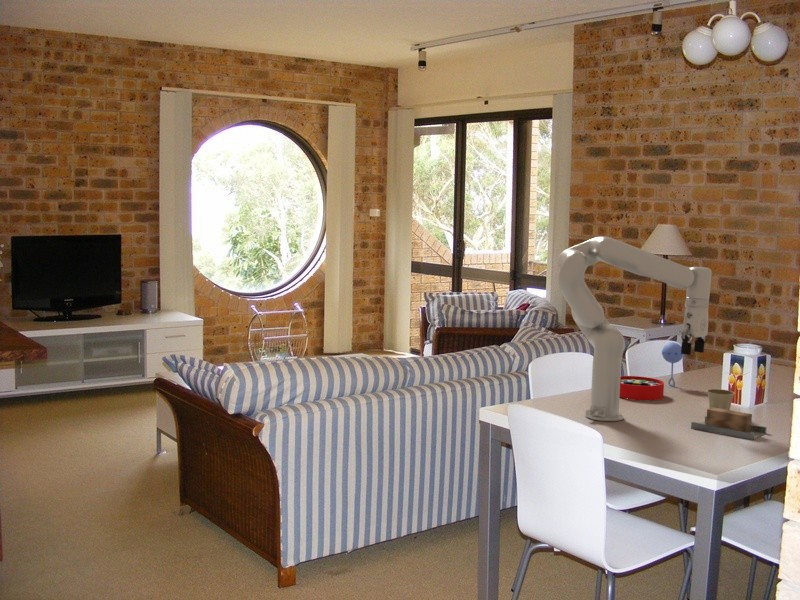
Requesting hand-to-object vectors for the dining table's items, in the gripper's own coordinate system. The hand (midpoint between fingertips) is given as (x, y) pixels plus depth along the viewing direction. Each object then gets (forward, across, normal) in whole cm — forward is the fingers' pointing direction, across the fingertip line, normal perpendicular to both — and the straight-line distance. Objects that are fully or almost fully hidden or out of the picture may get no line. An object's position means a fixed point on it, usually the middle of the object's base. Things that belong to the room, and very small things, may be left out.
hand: (692, 353), depth 299 cm
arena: (+23, -4, -17) cm, 29 cm away
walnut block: (+22, -4, -17) cm, 28 cm away
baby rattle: (+23, +51, +31) cm, 64 cm away
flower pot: (+23, +14, -5) cm, 27 cm away
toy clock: (+24, +23, +32) cm, 46 cm away
